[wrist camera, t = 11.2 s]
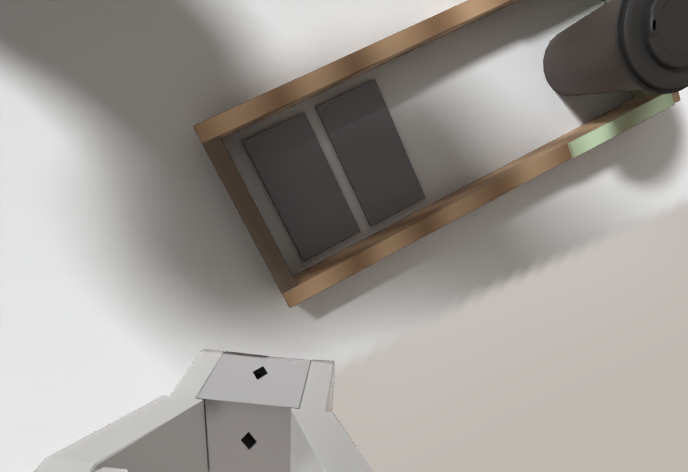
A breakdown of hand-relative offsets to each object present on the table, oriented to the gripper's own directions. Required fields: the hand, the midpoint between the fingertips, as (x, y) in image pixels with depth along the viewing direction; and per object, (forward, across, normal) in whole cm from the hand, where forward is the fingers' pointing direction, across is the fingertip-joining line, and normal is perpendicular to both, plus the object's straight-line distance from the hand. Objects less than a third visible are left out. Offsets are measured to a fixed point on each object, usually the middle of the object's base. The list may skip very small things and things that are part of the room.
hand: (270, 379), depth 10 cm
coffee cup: (+33, -18, -8) cm, 39 cm away
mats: (+26, +1, 0) cm, 26 cm away
